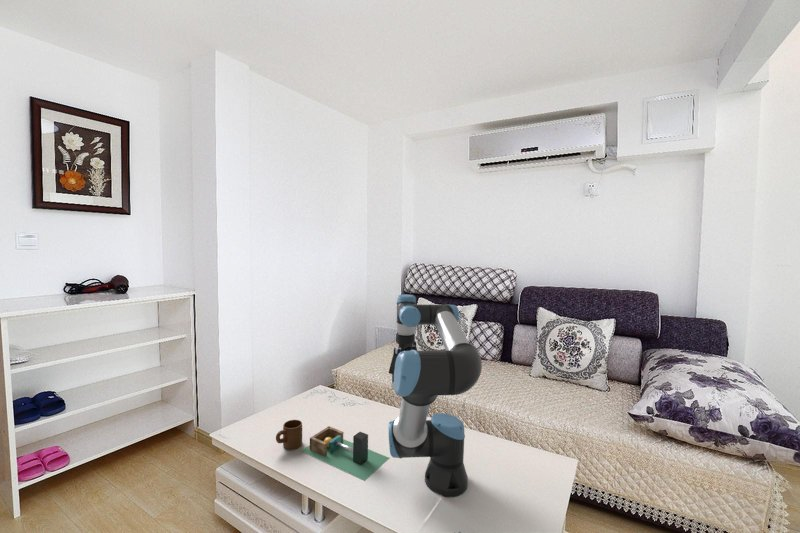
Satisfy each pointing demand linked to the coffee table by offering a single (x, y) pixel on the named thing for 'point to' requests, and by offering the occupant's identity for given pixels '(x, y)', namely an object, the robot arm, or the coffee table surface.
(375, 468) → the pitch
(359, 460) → the rod
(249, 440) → the coffee table surface
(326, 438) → the ball
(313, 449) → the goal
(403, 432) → the robot arm
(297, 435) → the mug
